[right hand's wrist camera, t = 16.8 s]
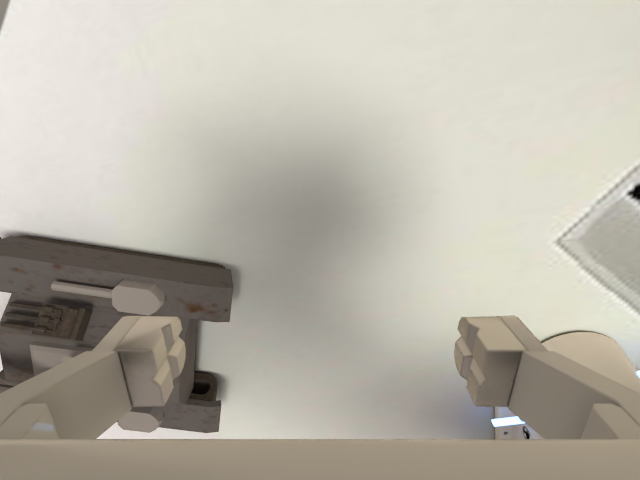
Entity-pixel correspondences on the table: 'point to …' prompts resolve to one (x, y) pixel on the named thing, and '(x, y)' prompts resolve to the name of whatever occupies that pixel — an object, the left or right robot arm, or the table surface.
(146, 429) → the toy
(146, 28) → the table surface
